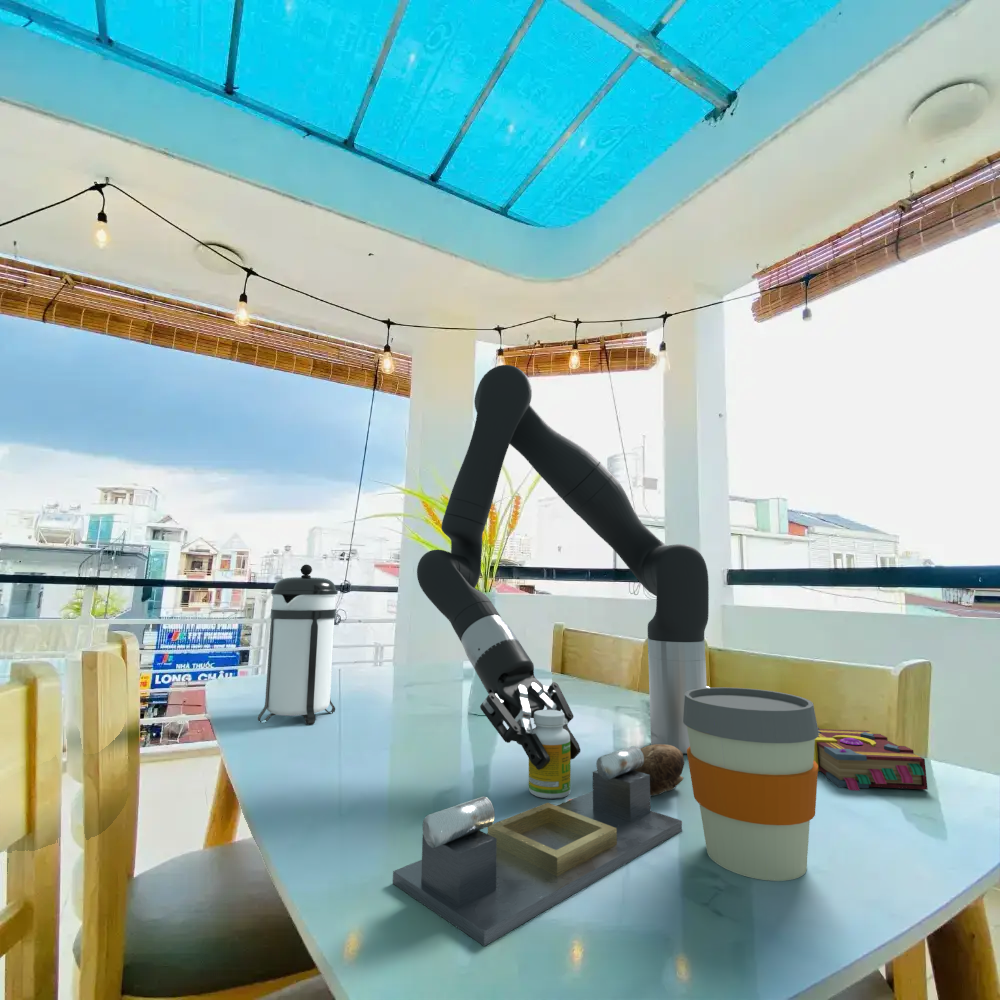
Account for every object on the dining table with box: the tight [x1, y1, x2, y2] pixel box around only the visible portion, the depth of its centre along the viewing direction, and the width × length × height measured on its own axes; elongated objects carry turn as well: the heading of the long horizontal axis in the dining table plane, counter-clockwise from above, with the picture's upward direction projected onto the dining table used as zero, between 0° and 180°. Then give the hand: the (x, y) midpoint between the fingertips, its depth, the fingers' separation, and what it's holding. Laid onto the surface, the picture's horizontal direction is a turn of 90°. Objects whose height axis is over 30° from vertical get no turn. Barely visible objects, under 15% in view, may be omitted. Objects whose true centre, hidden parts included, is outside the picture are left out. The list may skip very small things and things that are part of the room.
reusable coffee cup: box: [683, 686, 819, 882], centre depth 56 cm, size 12×13×15 cm
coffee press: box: [257, 564, 339, 725], centre depth 115 cm, size 17×16×30 cm
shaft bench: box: [392, 745, 683, 947], centre depth 56 cm, size 30×12×7 cm, turn 134°
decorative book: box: [814, 727, 928, 791], centre depth 81 cm, size 11×16×5 cm
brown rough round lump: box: [634, 744, 685, 797], centre depth 73 cm, size 8×8×6 cm
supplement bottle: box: [528, 709, 572, 800], centre depth 73 cm, size 5×5×10 cm
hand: (560, 760), depth 72 cm, fingers closed on supplement bottle, 5 cm apart
